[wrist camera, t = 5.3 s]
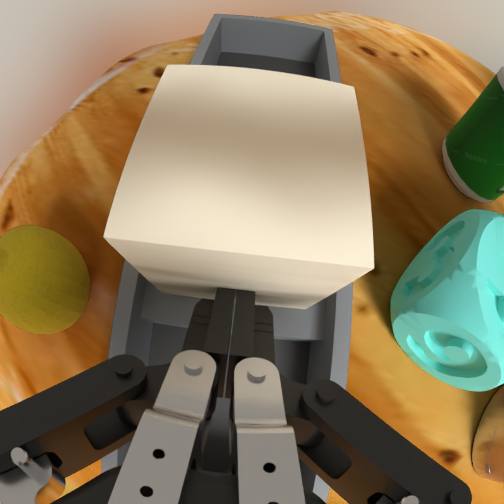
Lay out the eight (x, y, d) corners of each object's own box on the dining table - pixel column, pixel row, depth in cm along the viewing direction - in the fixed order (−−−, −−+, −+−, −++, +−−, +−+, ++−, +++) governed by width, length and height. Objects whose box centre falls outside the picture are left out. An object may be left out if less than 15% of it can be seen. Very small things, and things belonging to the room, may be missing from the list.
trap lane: (302, 484, 14) (322, 517, 10) (129, 463, 14) (102, 490, 9) (321, 64, 25) (332, 29, 21) (214, 50, 25) (214, 14, 20)
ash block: (305, 309, 14) (374, 268, 7) (162, 293, 14) (102, 237, 7) (309, 184, 17) (353, 86, 10) (186, 170, 16) (167, 64, 9)
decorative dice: (484, 304, 18) (558, 280, 11) (440, 390, 16) (524, 394, 9) (425, 236, 20) (494, 186, 12) (369, 320, 18) (449, 296, 10)
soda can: (461, 214, 21) (557, 138, 9) (422, 141, 23) (491, 49, 11) (501, 202, 22) (578, 140, 10) (467, 139, 24) (528, 68, 13)
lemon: (45, 255, 17) (-27, 207, 10) (112, 253, 18) (50, 193, 10) (39, 335, 16) (-45, 318, 8) (109, 341, 16) (32, 330, 8)
